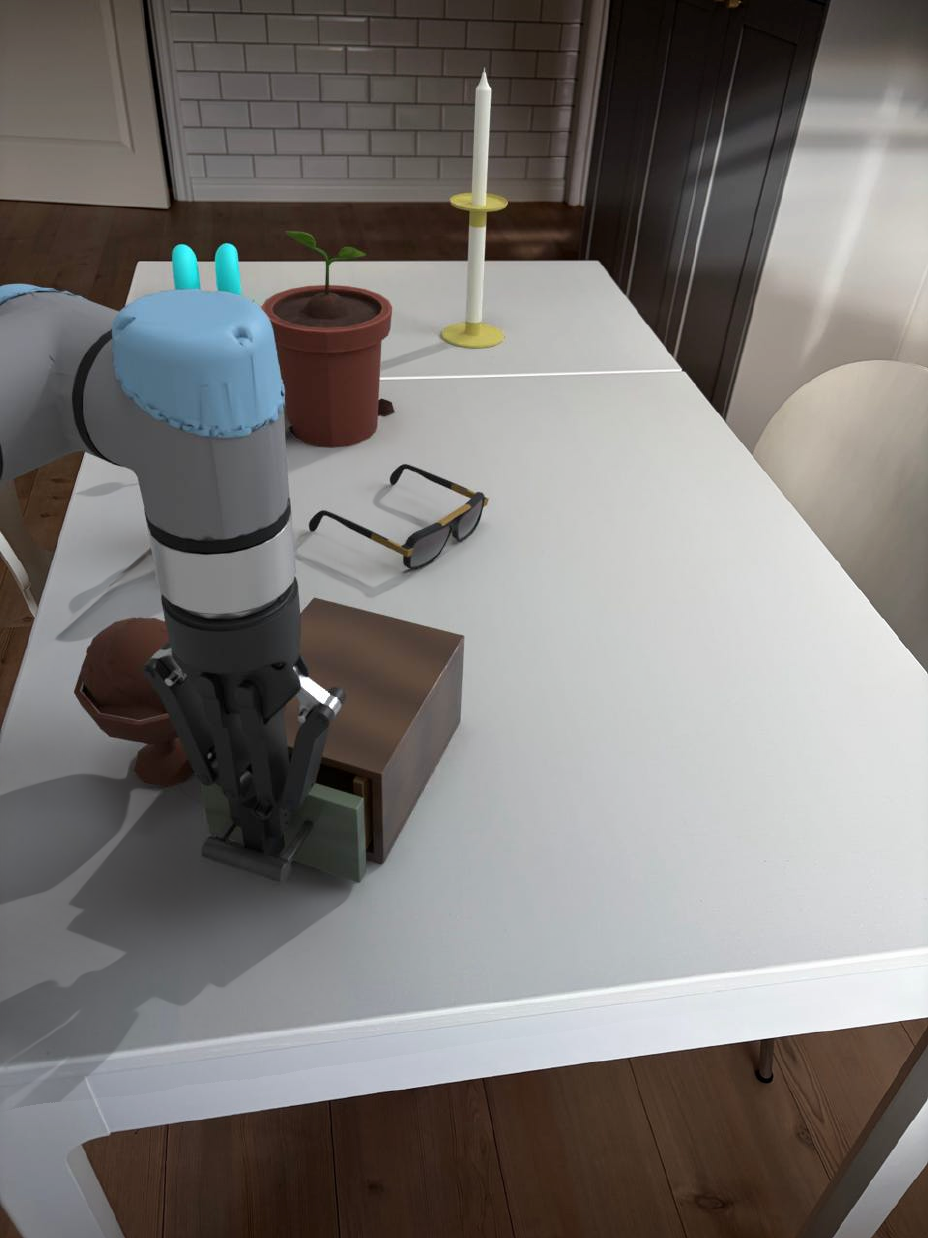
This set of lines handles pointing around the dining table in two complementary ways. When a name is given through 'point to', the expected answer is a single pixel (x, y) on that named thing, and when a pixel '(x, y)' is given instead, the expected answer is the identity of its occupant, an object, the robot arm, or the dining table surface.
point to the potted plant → (330, 356)
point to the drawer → (302, 830)
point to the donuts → (189, 271)
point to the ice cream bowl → (132, 698)
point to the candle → (477, 233)
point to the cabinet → (383, 704)
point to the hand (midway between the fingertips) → (266, 856)
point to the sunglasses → (432, 538)
